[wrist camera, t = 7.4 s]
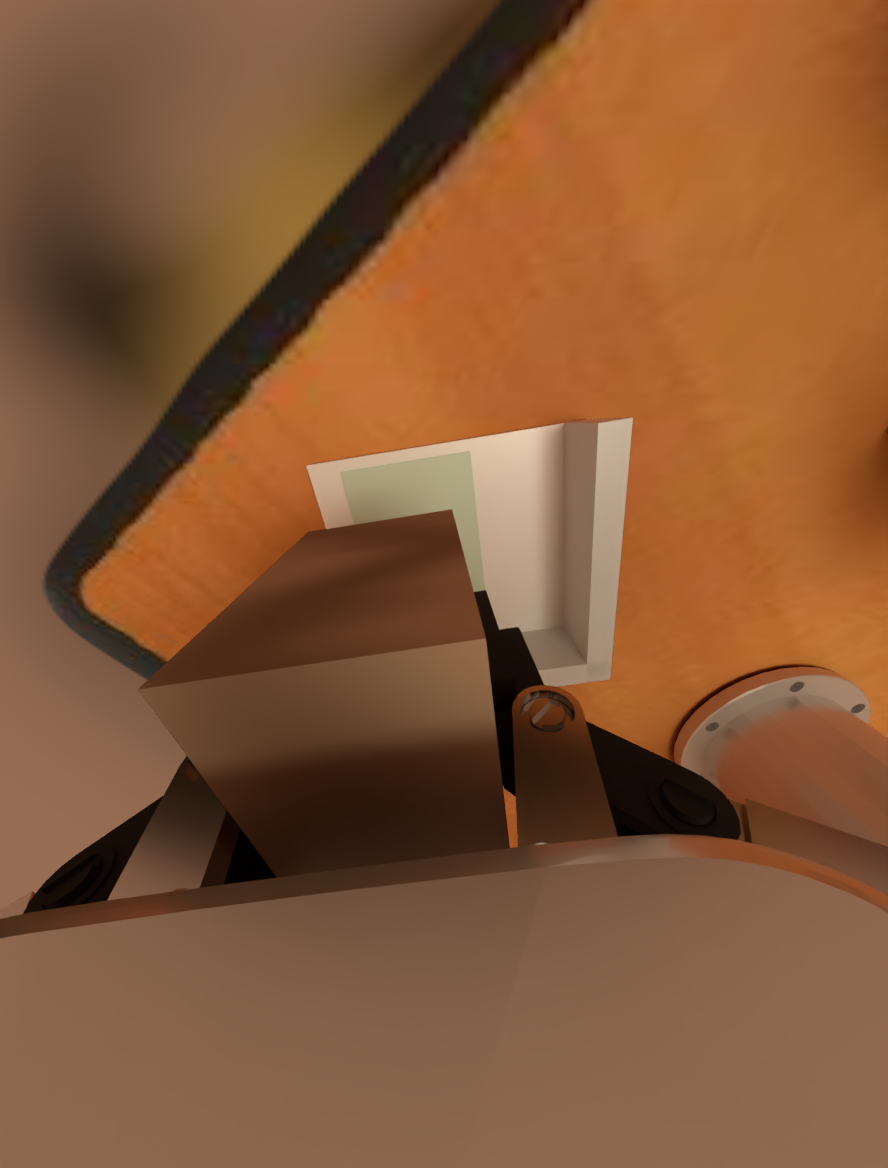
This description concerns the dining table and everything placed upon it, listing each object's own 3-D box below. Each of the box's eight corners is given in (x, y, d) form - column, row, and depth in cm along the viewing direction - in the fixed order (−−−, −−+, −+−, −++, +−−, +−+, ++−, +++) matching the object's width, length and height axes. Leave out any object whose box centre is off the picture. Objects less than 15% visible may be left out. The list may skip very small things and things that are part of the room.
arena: (578, 634, 20) (610, 679, 17) (371, 663, 21) (358, 713, 17) (585, 418, 15) (632, 417, 12) (310, 464, 16) (274, 476, 12)
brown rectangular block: (452, 509, 9) (485, 638, 4) (481, 717, 13) (519, 939, 7) (308, 532, 9) (137, 689, 4) (376, 732, 13) (338, 961, 7)
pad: (489, 632, 20) (489, 634, 19) (388, 646, 20) (388, 648, 20) (469, 450, 15) (470, 451, 15) (341, 471, 15) (340, 472, 15)
